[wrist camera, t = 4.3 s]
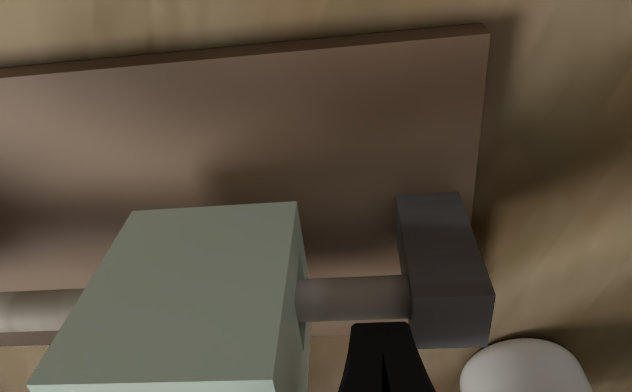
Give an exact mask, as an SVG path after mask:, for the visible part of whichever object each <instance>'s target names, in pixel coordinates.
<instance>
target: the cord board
mask: <svg viewBox="0 0 632 392" xmlns="http://www.w3.org/2000/svg"><path fill="white" fill-rule="evenodd" d="M490 37H491V33H490V32H489V31H488V30H487V29H486V28H485V26H484V25H483V24H482V23H478V24H467V25H457V26H446V27H435V28H425V29H414V30H403V31H392V32H382V33H371V34H360V35H350V36H339V37H328V38H318V39H307V40H296V41H285V42H275V43H264V44H253V45H243V46H232V47H221V48H211V49H200V50H189V51H178V52H168V53H157V54H146V55H136V56H125V57H114V58H104V59H93V60H82V61H71V62H61V63H50V64H39V65H29V66H18V67H7V68H0V346H27V345H51V343H52V341H53V340H54V338H55V336H56V335H57V333H58V331H59V330H60V328H61V327H62V325H63V323H64V322H65V320H66V318H67V317H68V315H69V313H70V312H71V310H72V309H73V307H74V305H75V304H76V302H77V300H78V299H79V297H80V295H81V294H82V292H83V291H84V289H85V287H86V286H87V284H88V282H89V281H90V279H91V277H92V276H93V274H94V273H95V271H96V269H97V268H98V266H99V264H100V263H101V261H102V259H103V258H104V256H105V255H106V253H107V251H108V250H109V248H110V246H111V245H112V243H113V241H114V240H115V238H116V237H117V235H118V233H119V232H120V230H121V228H122V227H123V225H124V223H125V222H126V220H127V219H128V217H129V215H130V214H131V212H132V211H140V210H156V209H173V208H190V207H207V206H224V205H240V204H257V203H274V202H291V201H297V206H298V212H299V218H300V225H301V231H302V237H303V243H304V250H305V256H306V262H307V269H308V275H309V279H297V281H296V290H295V299H294V305H295V310H296V315H297V321H298V322H312V332H311V337H319V336H350V334H351V326H352V325H353V324H355V323H372V322H402V321H405V322H407V323H408V324H409V325H410V329H411V332H412V336H413V339H414V342H415V345H416V347H417V349H434V348H470V347H487V346H488V340H489V334H490V328H491V321H492V315H493V309H494V303H495V296H496V295H495V292H494V289H493V286H492V284H491V281H490V278H489V275H488V272H487V270H486V267H485V264H484V261H483V258H482V256H481V253H480V250H479V247H478V244H477V242H476V239H475V236H474V233H473V230H472V228H471V218H472V209H473V199H474V190H475V180H476V171H477V161H478V151H479V142H480V132H481V123H482V113H483V104H484V94H485V84H486V75H487V65H488V56H489V46H490Z"/></svg>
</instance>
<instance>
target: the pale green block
mask: <svg viewBox="0 0 632 392" xmlns="http://www.w3.org/2000/svg"><path fill="white" fill-rule="evenodd" d="M297 279H309V275H308V269H307V262H306V256H305V250H304V243H303V237H302V231H301V225H300V218H299V212H298V206H297V201H291V202H274V203H257V204H240V205H224V206H207V207H190V208H173V209H156V210H140V211H132V212H131V214H130V215H129V217H128V219H127V220H126V222H125V223H124V225H123V227H122V228H121V230H120V232H119V233H118V235H117V237H116V238H115V240H114V241H113V243H112V245H111V246H110V248H109V250H108V251H107V253H106V255H105V256H104V258H103V259H102V261H101V263H100V264H99V266H98V268H97V269H96V271H95V273H94V274H93V276H92V277H91V279H90V281H89V282H88V284H87V286H86V287H85V289H84V291H83V292H82V294H81V295H80V297H79V299H78V300H77V302H76V304H75V305H74V307H73V309H72V310H71V312H70V313H69V315H68V317H67V318H66V320H65V322H64V323H63V325H62V327H61V328H60V330H59V331H58V333H57V335H56V336H55V338H54V340H53V341H52V343H51V345H50V346H49V348H48V349H47V351H46V353H45V354H44V356H43V358H42V359H41V361H40V363H39V364H38V366H37V367H36V369H35V371H34V372H33V374H32V376H31V377H30V379H29V381H28V382H27V384H26V387H27V388H28V389H29V390H30V392H308V377H309V362H310V347H311V332H312V322H298V321H297V315H296V310H295V305H294V299H295V290H296V281H297Z"/></svg>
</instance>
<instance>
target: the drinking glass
mask: <svg viewBox="0 0 632 392" xmlns="http://www.w3.org/2000/svg"><path fill="white" fill-rule="evenodd" d="M460 392H593V389H592V387H591V385H590V383H589V381H588V379H587V377H586V375H585V373H584V371H583V369H582V367H581V365H580V363H579V362H578V360H577V359H576V358H575V356H574V355H573V354H572V353H571V352H569V351H568V350H567V349H565V348H564V347H562V346H560V345H558V344H556V343H553V342H550V341H547V340H542V339H535V338H517V339H510V340H505V341H501V342H498V343H495V344H492V345H490V346H488V347H485V348H484V349H482V350H480V351H479V352H477V353H476V354H475V355H473V356H472V357H471V358H470V359H469V360H468V361H467V363H466V364H465V366H464V367H463V369H462V372H461V375H460Z"/></svg>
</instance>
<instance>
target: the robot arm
mask: <svg viewBox="0 0 632 392" xmlns="http://www.w3.org/2000/svg"><path fill="white" fill-rule="evenodd" d="M338 392H436V391H435V389H434V387H433V385H432V383H431V381H430V379H429V376H428V374H427V372H426V370H425V367H424V365H423V363H422V360H421V358H420V355H419V353H418V350H417V347H416V345H415V342H414V339H413V336H412V332H411V329H410V325H409V324H408V323H407V322H405V321H402V322H372V323H355V324H353V325H352V326H351V334H350V342H349V349H348V355H347V360H346V364H345V368H344V372H343V377H342V380H341V384H340V387H339V391H338Z"/></svg>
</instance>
